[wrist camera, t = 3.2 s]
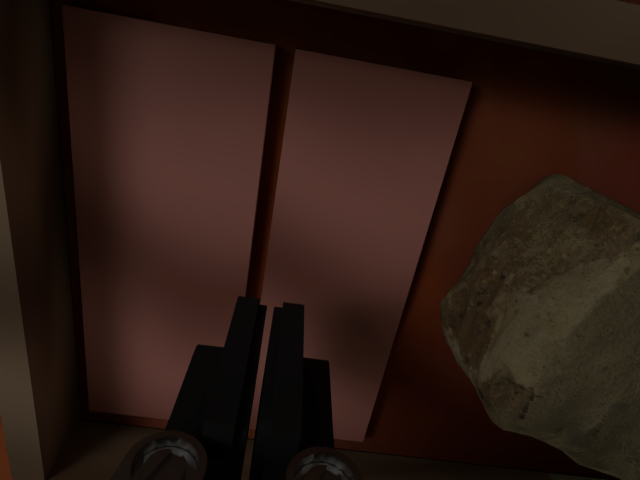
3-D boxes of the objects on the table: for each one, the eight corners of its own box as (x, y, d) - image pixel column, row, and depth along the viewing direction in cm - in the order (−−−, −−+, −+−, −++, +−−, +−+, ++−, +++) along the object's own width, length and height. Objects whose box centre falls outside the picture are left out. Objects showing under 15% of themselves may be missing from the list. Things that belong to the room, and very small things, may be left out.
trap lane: (-7, -110, 10) (-198, -191, 6) (1292, 159, 13) (1682, 211, 9) (56, 436, 17) (-15, 546, 13) (875, 525, 20) (999, 636, 16)
